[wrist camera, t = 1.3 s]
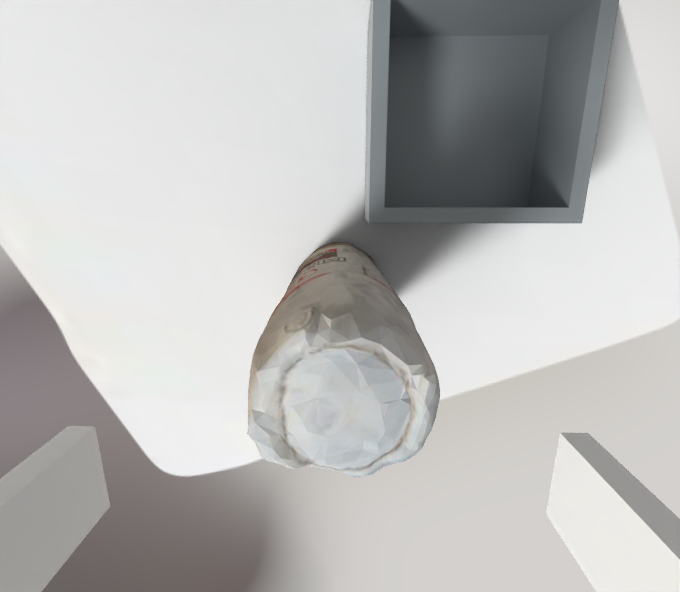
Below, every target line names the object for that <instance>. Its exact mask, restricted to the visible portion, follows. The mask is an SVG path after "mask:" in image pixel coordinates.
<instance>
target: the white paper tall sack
mask: <svg viewBox="0 0 680 592" xmlns="http://www.w3.org/2000/svg"><path fill="white" fill-rule="evenodd" d="M439 398H440V388H439V380H438V376H437V373H436V370H435V367H434V364H433V362H432V360H431V358H430V356H429V354H428V352H427V350H426V348H425V346H424V344H423V342H422V340H421V338H420V336H419V334H418V332H417V330H416V328H415V325H414V322H413V320H412V318H411V315H410V313H409V312H408V310H407V308H406V307H405V305H404V304H403V303H402V301H401V300H400V299H399V297H398V296H397V294H396V293H395V291H394V290H393V288H392V287H391V286H390V284H389V283H388V282H387V280H386V279H385V277H384V276H383V274H382V273H381V272H380V271H379V269H378V268H377V267H376V265H375V264H374V261H373V260H372V259H371V258H370V256H368V255H366V254H365V253H364V252H362V251H361V250H359V249H357V248H355V247H354V246H352V245H351V244H349V243H332V244H329V245H327V246H324V247H322V248H319V249H317V250H316V251H315V252H313V253H312V254H311V255H310V256H309V257H308V258H307V259H306V260H305V261H304V262H303V263H302V264H301V265H300V266H299V268H298V270H297V272H296V274H295V276H294V277H293V279H292V281H291V283H290V285H289V286H288V289H287V291H286V293H285V295H284V297H283V298H282V300H281V301H280V303H279V304H278V306H277V307H276V308H275V310H274V312H273V314H272V315H271V317H270V319H269V321H268V323H267V326H266V328H265V329H264V332H263V334H262V335H261V337H260V339H259V341H258V344H257V346H256V349H255V351H254V354H253V359H252V365H251V371H250V380H249V390H248V433H247V434H248V435H249V436H250V438H251V439H252V440H253V441H254V442H255V443H256V445H257V448H258V450H259V453H260V455H261V457H262V458H264V459H265V460H267V461H269V462H273V463H277V464H280V465H283V466H285V467H287V468H290V469H299V468H303V467H316V468H324V469H327V470H331V471H335V472H339V473H342V474H346V475H349V476H353V477H362V476H366V475H370V474H373V473H375V472H376V471H378V470H379V469H381V468H383V467H385V466H388V465H391V464H393V463H397V462H403V461H406V460H407V459H409V458H411V457H412V456H414V455H415V454H416V453H417V452H419V451H420V449H422V447H423V445H424V442H425V440H426V438H427V436H428V435H429V433H430V431H431V429H432V426H433V423H434V421H435V418H436V412H437V408H438V403H439Z"/></svg>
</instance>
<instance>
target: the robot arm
mask: <svg viewBox="0 0 680 592" xmlns="http://www.w3.org/2000/svg"><path fill="white" fill-rule="evenodd" d="M109 507H110V503H109V498H108V493H107V487H106V482H105V477H104V472H103V467H102V461H101V456H100V451H99V445H98V440H97V435H96V429H95V426H68V427H67V428H65V429H64V430H63V431H61V432H60V433H59V434H58V435H56V436H55V437H54V438H53V439H51V440H50V441H49V442H47V443H46V444H45V445H43V446H42V447H41V448H40V449H38V450H37V451H36V452H34V453H33V454H32V455H31V456H29V457H28V458H27V459H25V460H24V461H23V462H21V463H20V464H19V465H18V466H16V467H15V468H14V469H12V470H11V471H10V472H9V473H7V474H6V475H5V476H3V477H2V478H1V479H0V592H42V590H43V589H44V588H45V587H46V585H47V584H48V583H49V582H50V580H51V579H52V578H53V577H54V575H55V574H56V573H57V572H58V570H59V569H60V568H61V567H62V565H63V564H64V563H65V562H66V560H67V559H68V558H69V557H70V555H71V554H72V553H73V551H74V550H75V549H76V548H77V546H78V545H79V544H80V543H81V541H82V540H83V539H84V538H85V536H86V535H87V534H88V533H89V532H90V530H91V529H92V528H93V527H94V525H95V524H96V523H97V522H98V520H99V519H100V518H101V517H102V515H103V514H104V513H105V512H106V510H107V509H108V508H109ZM546 515H547V516H548V518H549V520H550V521H551V523H552V524H553V526H554V527H555V529H556V530H557V532H558V533H559V535H560V537H561V538H562V540H563V541H564V543H565V544H566V546H567V547H568V549H569V550H570V552H571V554H572V555H573V557H574V558H575V560H576V561H577V563H578V564H579V566H580V567H581V569H582V570H583V572H584V573H585V575H586V577H587V578H588V580H589V581H590V583H591V585H592V586H593V587H594V589H595V591H596V592H680V519H679V518H678V517H677V516H676V515H675V514H674V513H673V512H672V511H671V510H670V509H668V508H667V507H666V506H665V505H664V504H663V503H662V502H661V501H660V500H659V499H658V498H657V497H656V496H655V495H654V494H652V493H651V492H650V491H649V490H648V489H647V488H646V487H645V486H644V485H643V484H642V483H640V482H639V480H638V479H636V478H635V477H634V476H633V475H632V474H631V473H630V472H629V471H628V470H627V469H626V468H625V467H624V466H623V465H622V464H620V463H619V462H618V461H617V460H616V459H615V458H614V457H613V456H612V455H611V454H610V453H609V452H608V451H607V450H606V449H604V448H603V447H602V446H601V445H600V444H599V443H598V442H597V441H596V440H595V439H594V438H593V437H592V436H591V435H590V434H588V433H560V436H559V442H558V448H557V454H556V460H555V465H554V471H553V477H552V483H551V489H550V495H549V501H548V506H547V512H546Z"/></svg>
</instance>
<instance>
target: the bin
mask: <svg viewBox="0 0 680 592" xmlns="http://www.w3.org/2000/svg"><path fill="white" fill-rule="evenodd" d="M618 2H619V0H371V3H370V12H369V21H368V44H367V105H366V165H365V220H366V221H367V222H368V223H582V219H583V213H584V207H585V201H586V195H587V189H588V183H589V177H590V171H591V165H592V159H593V153H594V147H595V141H596V135H597V129H598V123H599V117H600V111H601V105H602V99H603V93H604V87H605V81H606V75H607V69H608V63H609V57H610V51H611V45H612V39H613V33H614V27H615V21H616V14H617V8H618Z"/></svg>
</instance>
